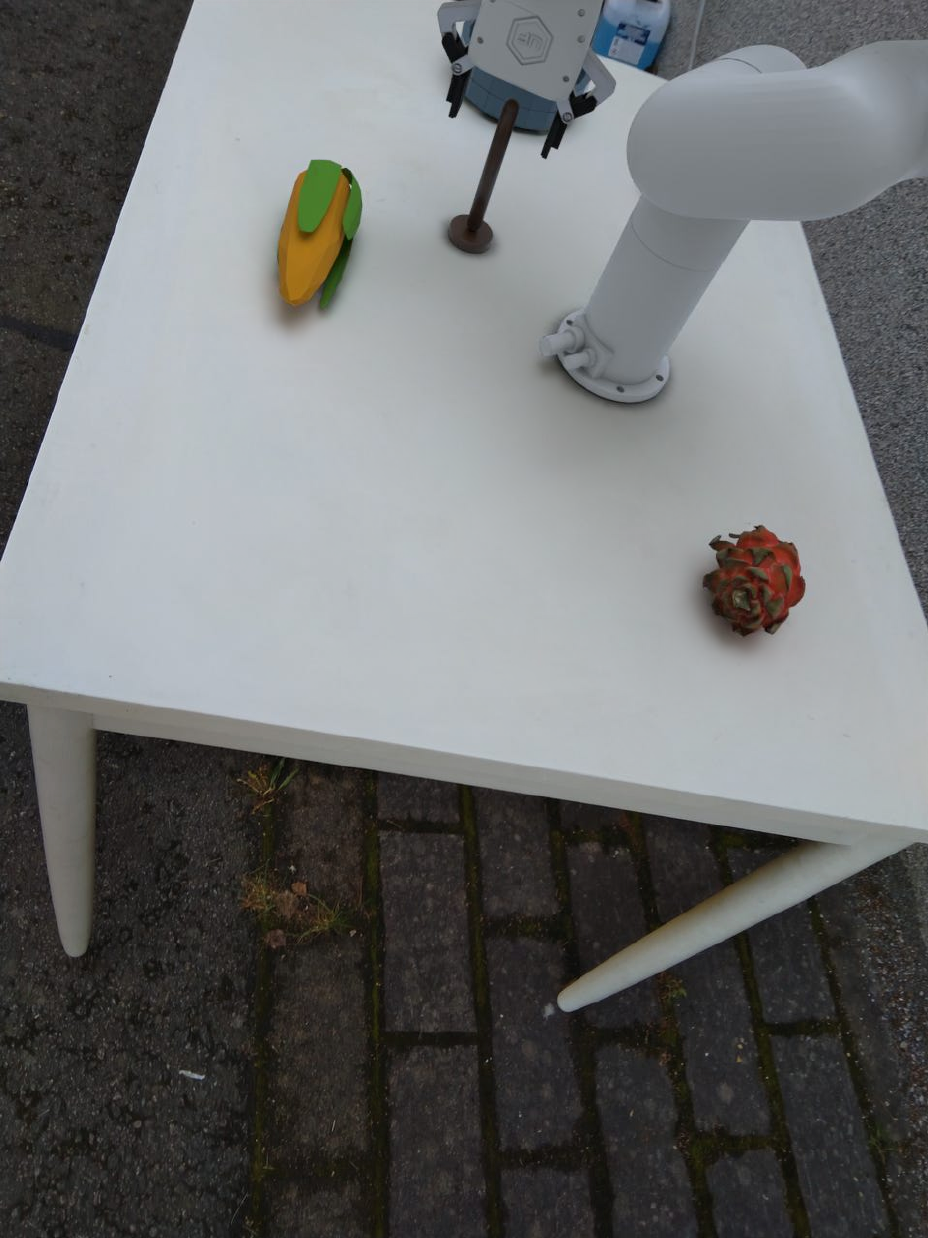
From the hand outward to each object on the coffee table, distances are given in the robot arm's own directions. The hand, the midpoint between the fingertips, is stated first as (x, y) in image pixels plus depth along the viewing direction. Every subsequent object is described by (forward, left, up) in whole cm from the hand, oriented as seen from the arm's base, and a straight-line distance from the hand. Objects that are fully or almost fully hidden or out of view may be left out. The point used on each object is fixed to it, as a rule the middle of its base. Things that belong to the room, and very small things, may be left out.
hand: (500, 130), depth 88 cm
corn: (-19, 0, -13) cm, 23 cm away
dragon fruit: (0, -49, -13) cm, 51 cm away
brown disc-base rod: (0, 0, -12) cm, 12 cm away
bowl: (+21, +23, -12) cm, 33 cm away
